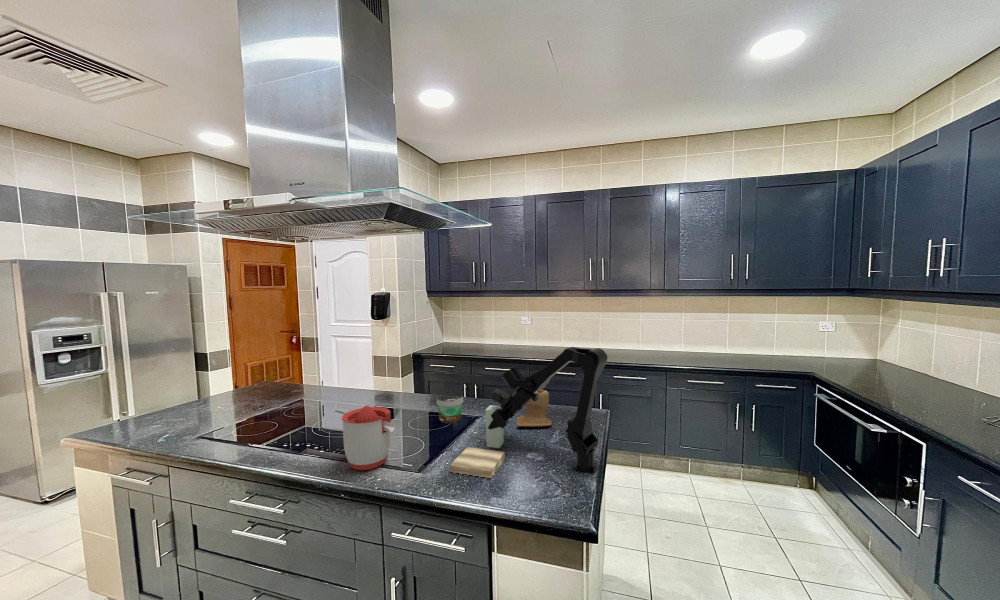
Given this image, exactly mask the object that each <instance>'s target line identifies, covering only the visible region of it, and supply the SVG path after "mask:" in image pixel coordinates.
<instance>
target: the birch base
mask: <svg viewBox="0 0 1000 600" xmlns="http://www.w3.org/2000/svg"><path fill="white" fill-rule="evenodd" d="M505 455H506V452H505V451H501V450H500V451H499V450H492V449H485V448H477V447H470V446H467V447H465V449H464V450H463V451H462V452H461V453H460V454H459V455H458V456H457V457H456V458H455V459H454V460H453V461H452V462H451V463H450V465H449V473H450V472H453V473H452V474H456V473H459V474H458V475H462V474H467V475H466V476H468V475H473V476H472V477H474V476H479V477H478V478H480V477H486V478H485V479H487V478H493V477H494V476H495V474H496V473H497V472H498V470H499V468H500V467H501V466H502V464H503V462H505V459H506V456H505ZM495 472H496V473H495ZM493 475H494V476H493ZM492 476H493V477H492Z"/></svg>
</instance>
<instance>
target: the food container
mask: <svg viewBox="0 0 1000 600" xmlns="http://www.w3.org/2000/svg"><path fill="white" fill-rule="evenodd" d="M463 403H464V397H463V395H461V396H460V397H458V398H456V397H455V398H447V399H445V400H440V399H438V398H437V400H436V403H435V404H436V405H437V409H438V415H439V422H440V421H441V422H440V423H442V422H443V423H442V424H448V423H450V424H456V423H459V422H460V421H461V420H462V411H463V410H462V409H463ZM458 421H459V422H458ZM455 422H456V423H455Z"/></svg>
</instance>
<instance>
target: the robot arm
mask: <svg viewBox="0 0 1000 600" xmlns="http://www.w3.org/2000/svg"><path fill="white" fill-rule="evenodd" d="M571 362H573V363H575V364H576V365H581V370H582V374H583V378H582V384H581V388H580V394H579V398H578V402H577V409H576V412H575V416H574V417H572V418H570V419H568V421H567V429H566V430H565V433H566V438H567V440H568V441H569V444H570V447H571V451H572V452H573V453H575V457H576V459H575V464H574V466H573V470H574V471H578V472H586V473H590V474H591V473H593V474H595V472H596V466H597V463H596V462H595V448H596V447H597V446H598V444H599V439H598V438H597V437H596V435H595V434H594V433H593V424H592V420H591V415H592V410H593V405H594V401H595V395H596V392H597V386H598V380H599V378H600V376H601V374H602V373H603V370H604V369H605V366H606V364H607V362H608V354H607V353H606V351H605V350H604V349H602V348H598V347H597V348H593V349H590V348H581V347H576V346H570V347H567V348H564V350H563V351H562V352H561V353H560V354H559V355H557V356H556V358H554V359H553V360H552V361H550V362H549V363H548V364H547V365H545V366H544V367H543V368H541V370H538V371H537V372H535V373H532V374H531V375H528V376H523V374H522V373H521V372H520V370H519V369H518V367H517V366H512V367H511V368H510V369H509V370H507V371H506V372H504V373H503V374H502V376H501V378H502V380H504V382H505V383H506V384H507V386H508V387H509V389H510V390H513V389H514V390H516V391H515V392H513V393H512V394H509V393H507V392H506V391H504V390H502V389H500V388H496V389H494V390H493V392H492V394H491V396H490V399H491V401H493V402H496V403H498V404H500V405H499V406H501V408H503V409H502V410H501V409H497V410H495V411H494V412H493V413H492V414H491V417H492V418H493V420H492V422H491V423H490V425H489V427H488V428H489V429H490V430H491V429H494V428H498V427H501V428H502V429H503V430H504V428H505V427H507V425H508V424H509V423H510V419H512V418H513V417H514V416H515V415H516V414H517V413H519V411H521V410H522V409H523V407H525V406H526V404H527V403H528V402H529V401H530V400H531V399H532V400H533V401H534V402H535V401H538V400H539V398H538V395H539V394H538V393H535V392H536V391H538V390H544V389H545V388H546V386H547V385H548V384H549V382H550V381H551V380H552V378H553V376H555V375H556V374H557V373H559V372H560V371H561V370H562V369H563V368H565V367H566V366H567V365H568V364H570V363H571Z"/></svg>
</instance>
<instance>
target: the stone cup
mask: <svg viewBox="0 0 1000 600" xmlns="http://www.w3.org/2000/svg"><path fill="white" fill-rule="evenodd" d="M535 393H538V394H539V395H538V398H539V400H538V401H535V402H534V401H533V400H532V399H531V400H530V401H529V402H528V403H527V404H526V405H525V410H526V412H525V415H522V416H519V417H517V419H516V423H515V424H516V427H523V428H525V427H527V428H531V427H532V428H533V427H535V428H536V427H549V426H552V424H553V422H552V420H551V419H550V418H549V417H547V409H548V407H549V402H550V393H549V392H548V391H547V390H544V389H541V390H538V391H536V392H535Z"/></svg>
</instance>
